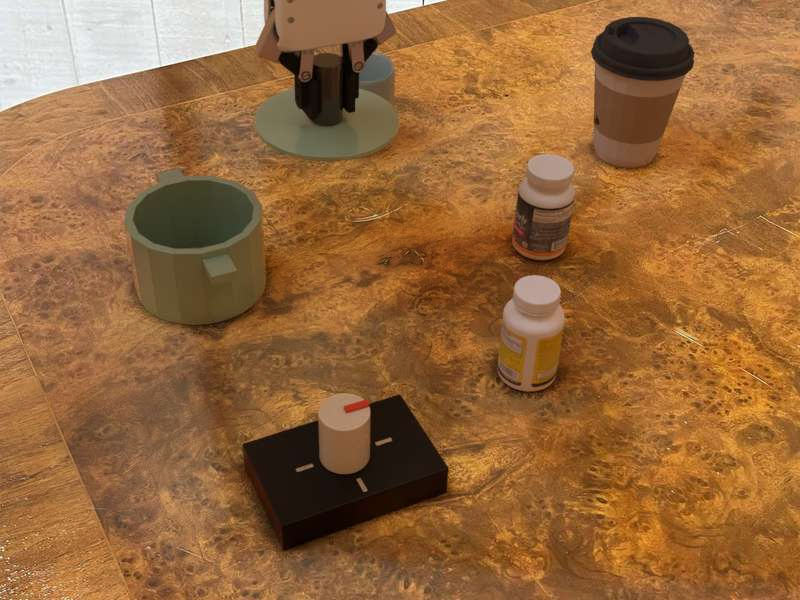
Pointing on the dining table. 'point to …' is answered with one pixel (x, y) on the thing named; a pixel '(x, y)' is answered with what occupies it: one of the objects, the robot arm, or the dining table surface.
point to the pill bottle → (544, 207)
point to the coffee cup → (636, 87)
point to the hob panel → (343, 475)
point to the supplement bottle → (531, 334)
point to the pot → (196, 248)
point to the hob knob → (344, 433)
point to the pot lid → (327, 120)
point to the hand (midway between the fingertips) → (327, 107)
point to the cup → (378, 77)
